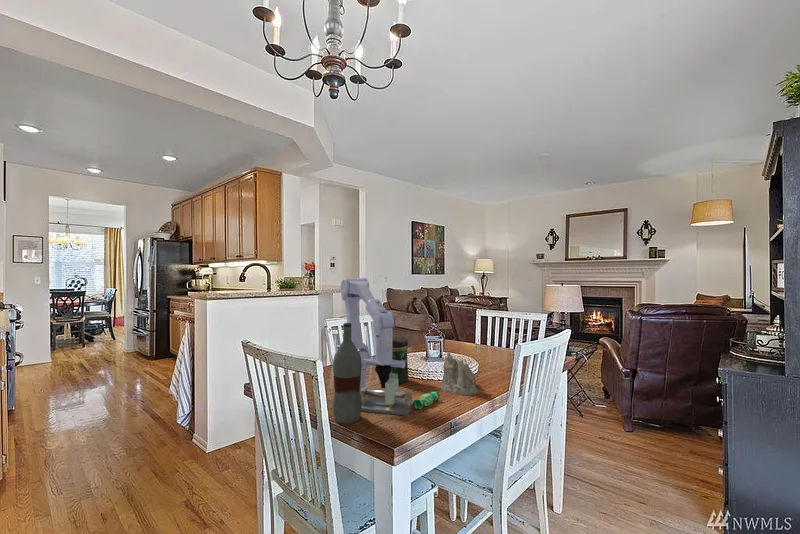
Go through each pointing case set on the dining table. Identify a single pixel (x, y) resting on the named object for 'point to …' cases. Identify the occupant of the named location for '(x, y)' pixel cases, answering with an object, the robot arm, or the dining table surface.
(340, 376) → the bottle
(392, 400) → the grey square nut
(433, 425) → the dining table surface
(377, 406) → the pipe rig
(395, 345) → the coffee jar
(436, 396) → the candy
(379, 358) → the robot arm
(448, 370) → the jagged grey rock
